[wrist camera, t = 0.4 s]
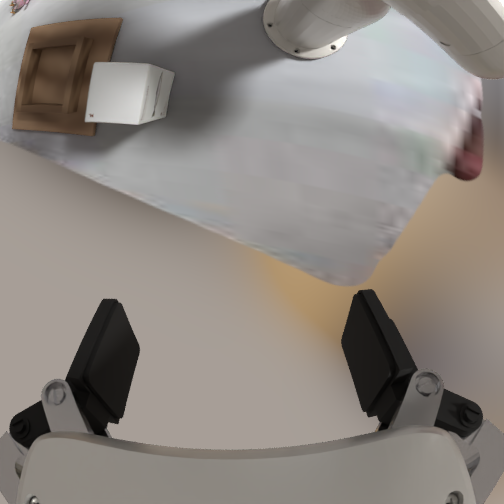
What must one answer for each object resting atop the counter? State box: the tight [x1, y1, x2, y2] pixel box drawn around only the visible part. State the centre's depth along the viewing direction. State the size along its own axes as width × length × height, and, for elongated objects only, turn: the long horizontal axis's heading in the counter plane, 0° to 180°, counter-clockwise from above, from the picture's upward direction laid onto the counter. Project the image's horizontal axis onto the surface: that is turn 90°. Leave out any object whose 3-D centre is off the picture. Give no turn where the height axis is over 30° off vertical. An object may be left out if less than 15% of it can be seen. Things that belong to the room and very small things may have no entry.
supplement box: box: [85, 62, 175, 125], centre depth 29 cm, size 7×7×13 cm
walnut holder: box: [12, 18, 123, 136], centre depth 28 cm, size 20×20×4 cm
